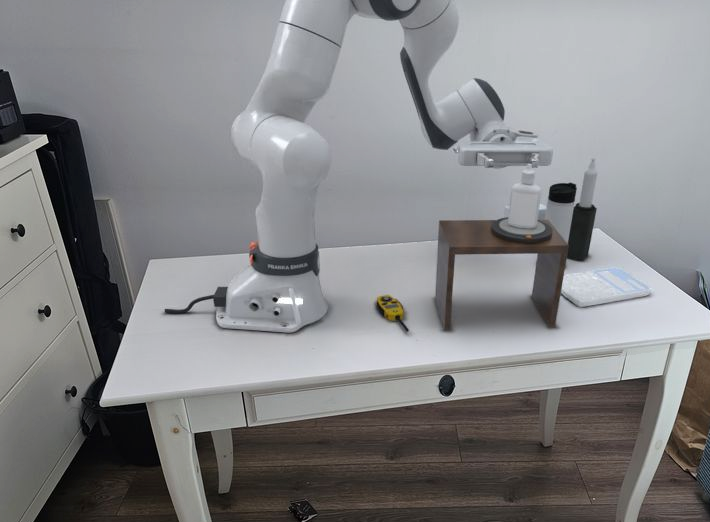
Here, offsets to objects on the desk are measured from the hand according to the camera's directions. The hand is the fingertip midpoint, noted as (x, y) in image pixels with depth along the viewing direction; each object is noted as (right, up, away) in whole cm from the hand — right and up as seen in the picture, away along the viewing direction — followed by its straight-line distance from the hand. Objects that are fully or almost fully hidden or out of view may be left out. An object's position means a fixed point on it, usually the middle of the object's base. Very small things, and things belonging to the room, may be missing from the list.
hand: (512, 164), depth 127 cm
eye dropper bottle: (+1, -14, -5) cm, 15 cm away
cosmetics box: (+9, -10, +38) cm, 40 cm away
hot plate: (+1, -15, -4) cm, 15 cm away
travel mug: (+14, -17, +27) cm, 35 cm away
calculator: (+22, -24, +16) cm, 37 cm away
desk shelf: (-3, -30, +5) cm, 31 cm away
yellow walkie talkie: (-24, -32, +2) cm, 40 cm away
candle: (+21, -14, +32) cm, 41 cm away
